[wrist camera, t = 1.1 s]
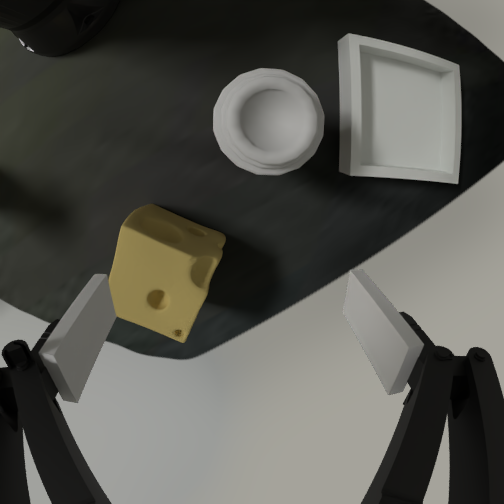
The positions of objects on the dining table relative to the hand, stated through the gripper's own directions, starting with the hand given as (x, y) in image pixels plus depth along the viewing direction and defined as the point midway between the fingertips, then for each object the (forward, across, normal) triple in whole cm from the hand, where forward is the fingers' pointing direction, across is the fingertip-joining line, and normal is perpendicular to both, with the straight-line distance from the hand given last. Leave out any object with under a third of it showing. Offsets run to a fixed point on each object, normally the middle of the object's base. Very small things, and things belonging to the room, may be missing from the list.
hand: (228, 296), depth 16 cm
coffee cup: (+21, +3, +9) cm, 23 cm away
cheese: (+21, -7, -6) cm, 23 cm away
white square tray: (+21, +21, +12) cm, 32 cm away
